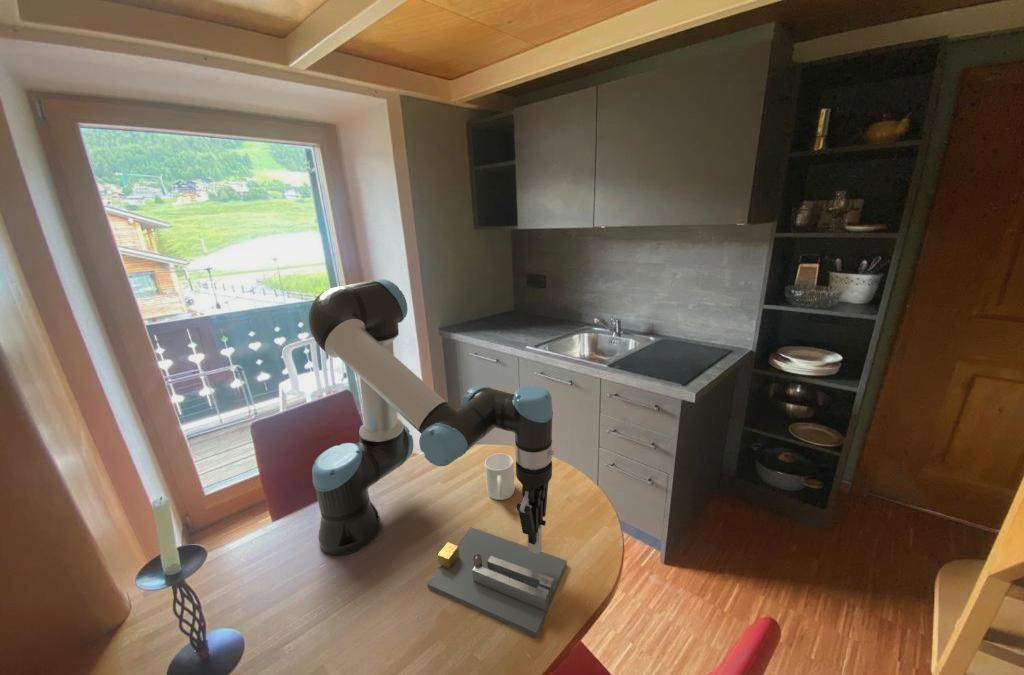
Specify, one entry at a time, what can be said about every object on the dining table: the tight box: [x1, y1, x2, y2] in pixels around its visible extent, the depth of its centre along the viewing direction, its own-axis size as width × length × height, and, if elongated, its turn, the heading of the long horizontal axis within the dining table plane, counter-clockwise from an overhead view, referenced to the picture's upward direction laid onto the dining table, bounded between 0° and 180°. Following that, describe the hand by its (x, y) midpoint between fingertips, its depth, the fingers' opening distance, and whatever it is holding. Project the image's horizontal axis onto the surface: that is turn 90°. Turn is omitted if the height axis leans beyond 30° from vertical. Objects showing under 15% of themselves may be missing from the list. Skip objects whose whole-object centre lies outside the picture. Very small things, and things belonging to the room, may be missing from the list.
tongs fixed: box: [472, 554, 549, 611], centre depth 83 cm, size 18×3×4 cm, turn 64°
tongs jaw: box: [487, 556, 554, 598], centre depth 84 cm, size 15×2×3 cm, turn 65°
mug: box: [484, 452, 516, 501], centre depth 112 cm, size 12×8×10 cm
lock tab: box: [437, 541, 459, 569], centre depth 91 cm, size 3×4×3 cm
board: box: [426, 526, 568, 638], centre depth 88 cm, size 26×18×1 cm
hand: (534, 550), depth 88 cm, fingers closed
